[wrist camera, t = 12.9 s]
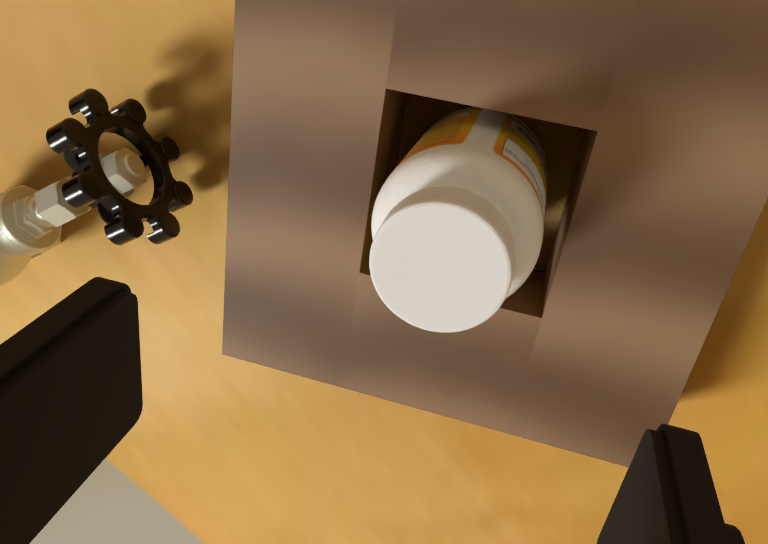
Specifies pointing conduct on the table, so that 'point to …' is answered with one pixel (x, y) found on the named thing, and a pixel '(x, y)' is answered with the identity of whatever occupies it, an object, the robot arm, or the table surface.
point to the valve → (94, 185)
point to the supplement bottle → (460, 220)
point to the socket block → (578, 221)
